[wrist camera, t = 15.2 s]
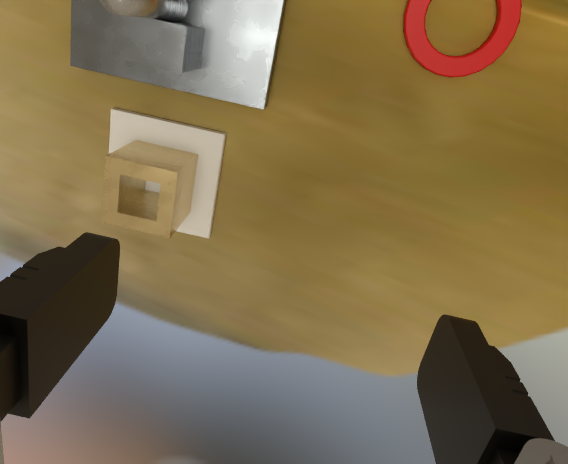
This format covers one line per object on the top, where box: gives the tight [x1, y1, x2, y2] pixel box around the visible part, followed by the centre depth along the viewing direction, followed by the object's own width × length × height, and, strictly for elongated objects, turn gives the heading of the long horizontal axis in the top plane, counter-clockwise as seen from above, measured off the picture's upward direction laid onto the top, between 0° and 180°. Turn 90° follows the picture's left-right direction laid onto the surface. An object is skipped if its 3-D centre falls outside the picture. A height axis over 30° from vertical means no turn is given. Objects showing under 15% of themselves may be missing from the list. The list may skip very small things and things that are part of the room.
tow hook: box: [404, 0, 522, 77], centre depth 29 cm, size 8×13×9 cm
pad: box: [109, 108, 227, 238], centre depth 42 cm, size 10×10×1 cm
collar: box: [102, 140, 198, 238], centre depth 39 cm, size 6×6×6 cm
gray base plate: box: [71, 0, 286, 109], centre depth 31 cm, size 16×12×12 cm
